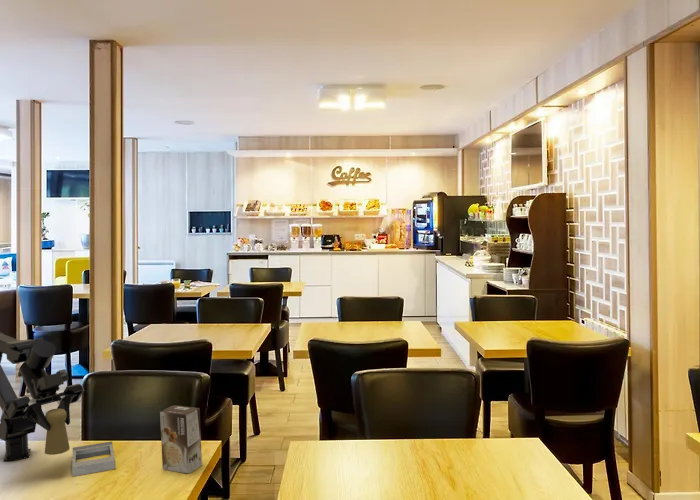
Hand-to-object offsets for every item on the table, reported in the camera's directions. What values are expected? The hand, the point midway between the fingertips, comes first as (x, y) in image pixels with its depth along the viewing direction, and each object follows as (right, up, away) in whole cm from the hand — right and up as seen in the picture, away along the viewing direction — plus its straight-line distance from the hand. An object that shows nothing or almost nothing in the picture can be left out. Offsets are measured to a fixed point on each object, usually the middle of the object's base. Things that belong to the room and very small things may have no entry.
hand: (59, 426), depth 159 cm
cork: (-1, -7, +1) cm, 7 cm away
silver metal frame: (+5, -13, +10) cm, 17 cm away
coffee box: (+31, -13, +5) cm, 34 cm away
